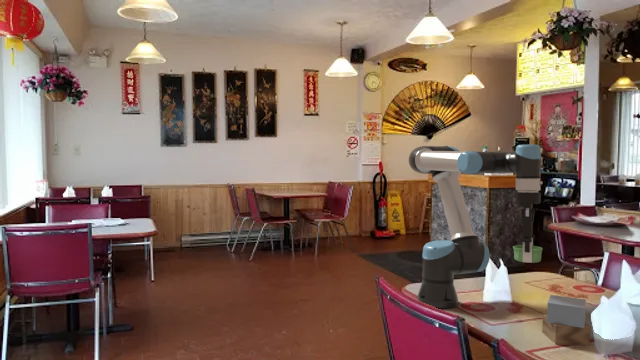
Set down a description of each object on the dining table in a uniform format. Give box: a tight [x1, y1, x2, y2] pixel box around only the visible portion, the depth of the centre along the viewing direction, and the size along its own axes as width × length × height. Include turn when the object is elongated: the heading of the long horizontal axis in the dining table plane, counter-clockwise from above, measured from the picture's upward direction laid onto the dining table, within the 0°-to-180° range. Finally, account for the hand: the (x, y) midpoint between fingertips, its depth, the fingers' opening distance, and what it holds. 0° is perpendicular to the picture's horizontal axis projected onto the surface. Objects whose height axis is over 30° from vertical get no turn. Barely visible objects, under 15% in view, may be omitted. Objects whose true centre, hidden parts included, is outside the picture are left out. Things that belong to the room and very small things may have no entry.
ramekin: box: [512, 244, 544, 264], centre depth 160 cm, size 9×9×4 cm
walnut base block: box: [541, 314, 591, 346], centre depth 150 cm, size 10×10×6 cm
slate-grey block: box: [546, 294, 587, 328], centre depth 150 cm, size 10×10×6 cm
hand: (527, 259), depth 160 cm, fingers closed on ramekin, 9 cm apart
